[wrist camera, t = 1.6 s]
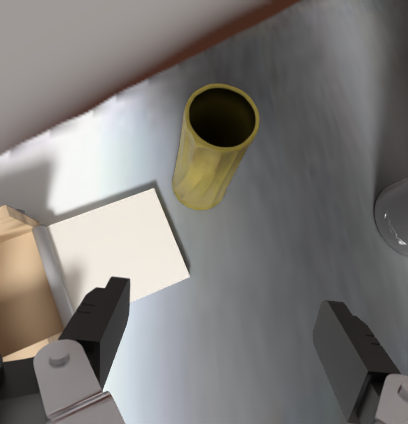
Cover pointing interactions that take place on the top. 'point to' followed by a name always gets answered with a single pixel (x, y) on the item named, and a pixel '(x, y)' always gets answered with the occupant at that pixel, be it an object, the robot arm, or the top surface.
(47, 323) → the truck bed
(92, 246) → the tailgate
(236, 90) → the vase
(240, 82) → the top surface
